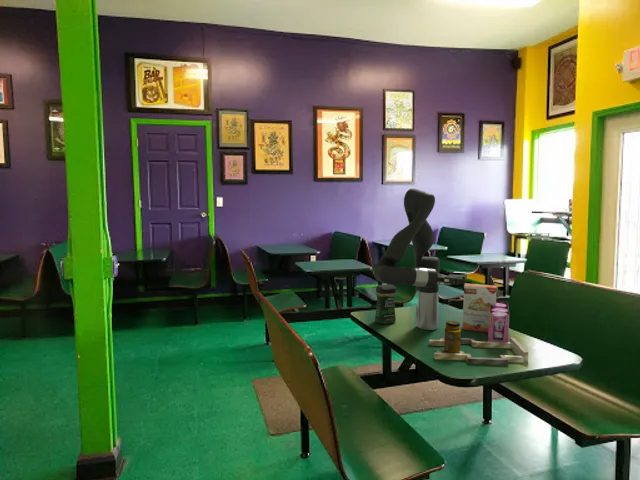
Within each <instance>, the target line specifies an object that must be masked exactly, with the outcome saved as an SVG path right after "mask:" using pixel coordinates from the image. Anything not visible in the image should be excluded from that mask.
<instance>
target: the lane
mask: <svg viewBox="0 0 640 480" xmlns="http://www.w3.org/2000/svg"><path fill="white" fill-rule="evenodd" d="M444 339H445V336H444V337H441V336H440V337H439V339H429V343H428V344H429V346H432V347H434V346H435V347H444ZM460 345H471V347H472V348H486V349H487V348H488V349H489V348H490V349H511V350H512V351H513V352H514V354H515V355H506V354H500V355H499V358H498V357H496V358H495V357H475V356H474V357H473V356H472V355H471V353H462V354H458V353H439V352H434V353H433V354H434V358H433V359H434V360H446V361H447V360H449V361H466V363H467V364H468V365H484V366H485V365H488V366H509V363H523V364H524V363H529V351H528V350H527V349H526V347H524V346H523V345H522V344H521V342H519V341H518V340H517V338H515V337H509V341H508V342H488V341H483V340H482V341H478V340H475V338H472V337H471V338H469V337H468V338H467V337H460Z"/></svg>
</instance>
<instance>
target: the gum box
mask: <svg viewBox="0 0 640 480" xmlns="http://www.w3.org/2000/svg"><path fill="white" fill-rule="evenodd" d="M509 308H510V307H509V302H506V301H496V305H491V304H490V309H489V329H488V332H487V333H488V334H487V335H488V336H487V337H488V338H487V342H509V333H510V331H509V326H510V309H509Z"/></svg>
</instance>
